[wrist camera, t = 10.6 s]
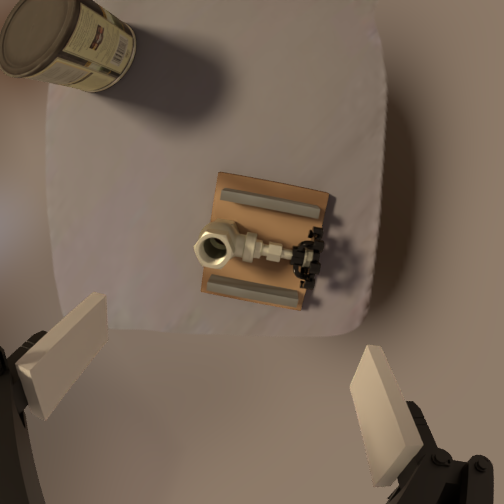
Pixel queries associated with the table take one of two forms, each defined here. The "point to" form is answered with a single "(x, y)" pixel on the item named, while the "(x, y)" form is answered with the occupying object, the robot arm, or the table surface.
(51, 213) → the table surface
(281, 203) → the board
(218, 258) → the valve
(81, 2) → the coffee can
